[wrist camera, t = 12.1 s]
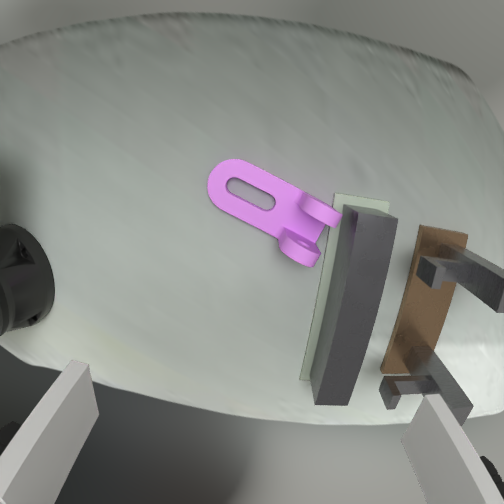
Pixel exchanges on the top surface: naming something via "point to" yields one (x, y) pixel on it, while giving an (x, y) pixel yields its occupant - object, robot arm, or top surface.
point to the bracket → (275, 209)
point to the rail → (351, 302)
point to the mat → (327, 272)
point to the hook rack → (435, 317)
